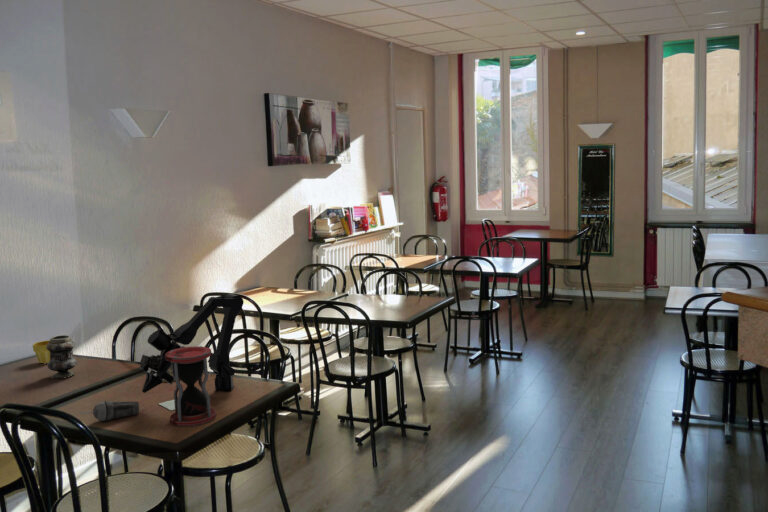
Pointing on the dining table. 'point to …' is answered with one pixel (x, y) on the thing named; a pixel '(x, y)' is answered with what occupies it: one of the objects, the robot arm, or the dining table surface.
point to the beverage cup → (114, 410)
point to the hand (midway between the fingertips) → (143, 392)
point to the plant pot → (42, 351)
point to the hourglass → (190, 386)
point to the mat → (168, 405)
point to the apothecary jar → (61, 355)
